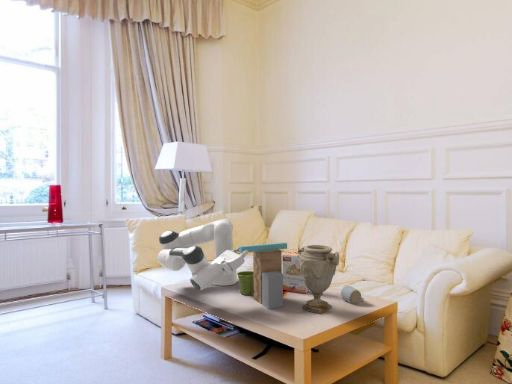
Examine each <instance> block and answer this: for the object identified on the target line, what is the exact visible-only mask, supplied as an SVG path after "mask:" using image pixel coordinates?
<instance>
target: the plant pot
mask: <svg viewBox="0 0 512 384" xmlns="http://www.w3.org/2000/svg"><path fill="white" fill-rule="evenodd" d="M236 274H237V279H239V281H238V283H239V287H240V288H239V289H240V293H241V295H245V296H252V295H254V277H253V271H252V270H249V271H248V270H246V271H245V270H243V271H239V272H238V271H237V272H236Z"/></svg>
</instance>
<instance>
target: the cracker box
mask: <svg viewBox="0 0 512 384" xmlns="http://www.w3.org/2000/svg"><path fill="white" fill-rule="evenodd" d="M298 255H299V254H298V253H294V252H285V253H282V274H283V288H286V290H287V291H286V292H292V293H297V294H298V293H299V294H307V293H308V292H309V291H310V290H309V289H308V288H307V287H306V285H305V283H304V279H303V276H302V274H301V272H300V265H299V256H298Z"/></svg>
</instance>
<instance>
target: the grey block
mask: <svg viewBox="0 0 512 384" xmlns="http://www.w3.org/2000/svg"><path fill="white" fill-rule="evenodd" d="M261 305H262V306H264V307H265V308H266V309H268V310H271V309H277V308H283V307H284V291H283V273H282V274H281V273H279V272H277V271H273V272H265V273H262V304H261Z"/></svg>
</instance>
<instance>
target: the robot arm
mask: <svg viewBox="0 0 512 384" xmlns="http://www.w3.org/2000/svg"><path fill="white" fill-rule="evenodd" d="M233 230H234V225H233V222H232V221H231V220H230V219H227V218H221V219H218V220H215V221H211V222H209V223H208V222H207V223H205V224H203V225H199V226H196V227H191V228H189V229H185V230H183V231H181V232H176V231H173V230H167V231H164V232H163V233H161V234H160V235H159V238H158V239H159V240H158V241H159V244H160V247H161V250H159V252H158V254H157V256H156V257H157V260H156V261H157V262H158V264H160V265H161V266H162V267H164V269H167V270H170V271H173V272H177V271H180V270H182V269H183V268H184V267H185V265H187V267H188V269H189V271H190V272H191V277H190V279H189V281H190V284H191V286H192V287H194V288H195V289H196V290H197V291H203V290H205V289H206V288H208V287H210V286H220V287H222V286H231V285H235V284H236V283H239V279H238V275H237V269H238V268H241V266H242V265H244V264H245V261H246V260H245V257H246V255H248V254H249V252H248V251H247V250H245V251H243V253H240V252H239V246H238V247H236V248H234V245H233V244H234V242H233V241H234V240H233ZM212 241H214V260H212V261H211V262H210V263H209V261H208V259H207V257H206V256H205V253H204V251H203V249H202V247H201V246H200V245H203V244H204V245H205V244H208V243H210V242H212ZM239 253H240V254H239Z"/></svg>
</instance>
